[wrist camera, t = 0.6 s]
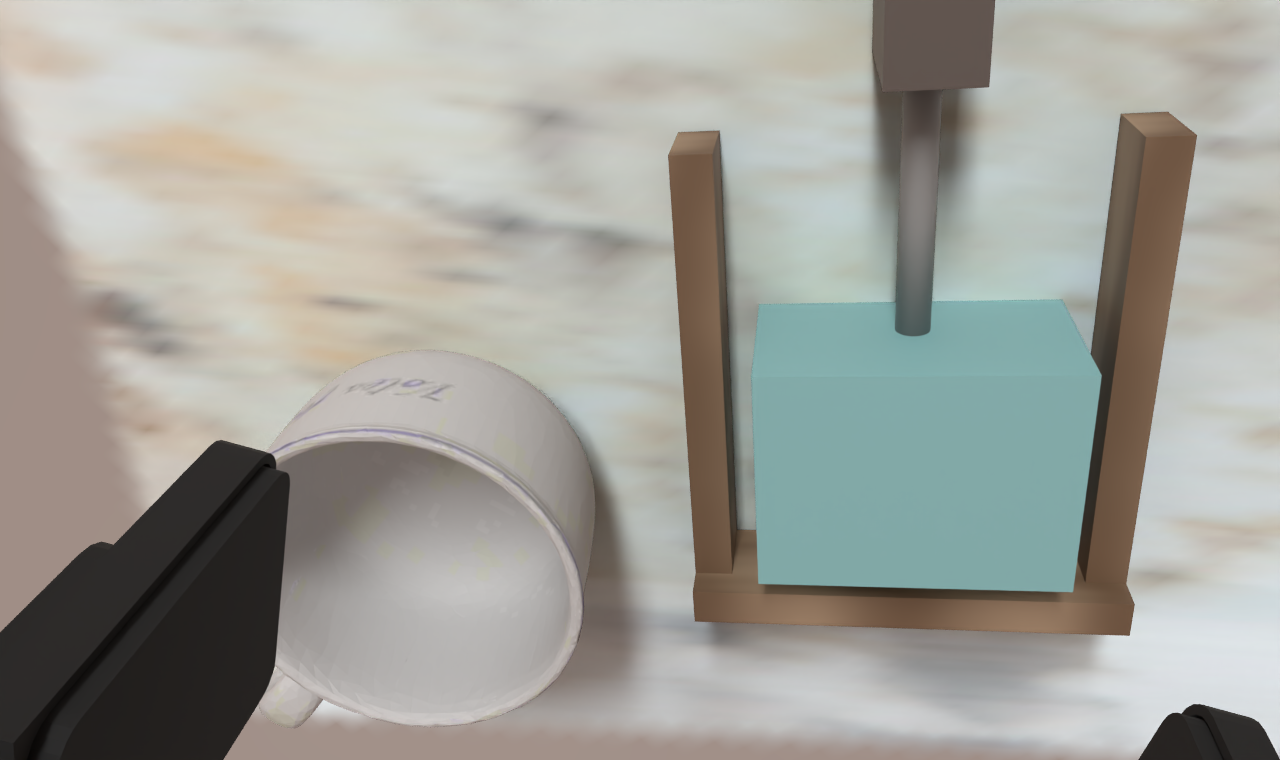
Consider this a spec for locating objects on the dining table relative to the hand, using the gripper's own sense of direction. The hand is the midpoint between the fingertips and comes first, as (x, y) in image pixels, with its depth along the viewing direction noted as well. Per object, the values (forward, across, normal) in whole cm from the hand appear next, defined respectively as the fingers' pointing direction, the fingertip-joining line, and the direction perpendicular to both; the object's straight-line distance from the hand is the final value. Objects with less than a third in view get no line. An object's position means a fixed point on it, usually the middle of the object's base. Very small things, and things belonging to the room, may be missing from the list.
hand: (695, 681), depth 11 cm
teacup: (+23, +8, +15) cm, 28 cm away
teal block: (+22, -5, +2) cm, 23 cm away
